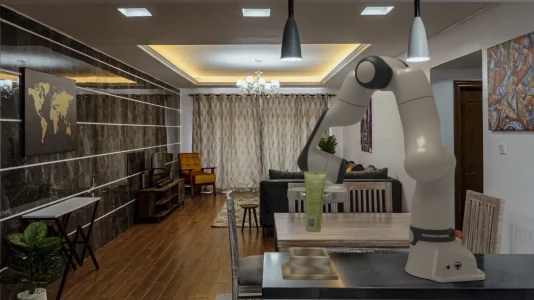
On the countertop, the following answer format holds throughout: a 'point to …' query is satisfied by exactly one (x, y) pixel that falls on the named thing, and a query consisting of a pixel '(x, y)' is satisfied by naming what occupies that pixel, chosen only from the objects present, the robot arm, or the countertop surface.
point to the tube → (314, 199)
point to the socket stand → (308, 264)
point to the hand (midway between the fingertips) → (314, 197)
